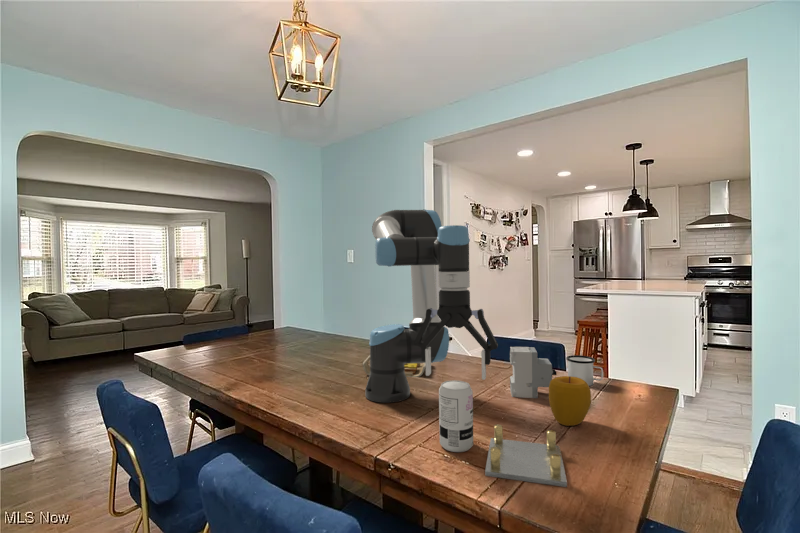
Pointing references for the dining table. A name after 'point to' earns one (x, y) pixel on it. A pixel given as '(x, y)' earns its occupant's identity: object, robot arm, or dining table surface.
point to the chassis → (525, 460)
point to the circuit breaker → (528, 372)
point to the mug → (582, 368)
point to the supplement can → (456, 416)
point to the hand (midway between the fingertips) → (455, 376)
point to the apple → (569, 399)
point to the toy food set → (410, 369)
